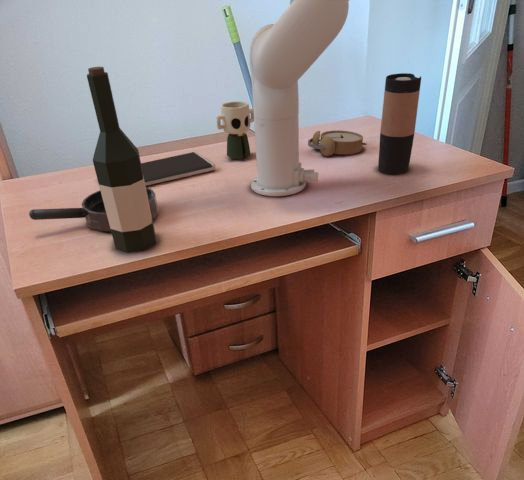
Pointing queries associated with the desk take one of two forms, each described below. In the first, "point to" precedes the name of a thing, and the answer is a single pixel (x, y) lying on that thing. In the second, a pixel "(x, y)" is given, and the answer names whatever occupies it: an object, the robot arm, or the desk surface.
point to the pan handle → (56, 213)
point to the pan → (97, 212)
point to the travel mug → (398, 122)
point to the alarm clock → (337, 142)
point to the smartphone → (175, 167)
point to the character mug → (236, 127)
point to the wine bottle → (119, 173)
